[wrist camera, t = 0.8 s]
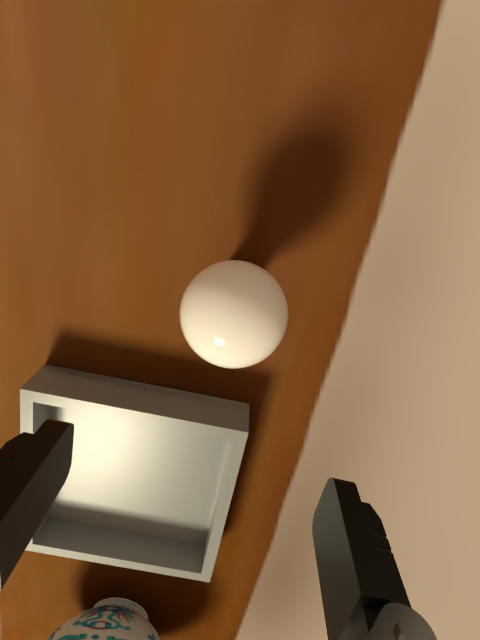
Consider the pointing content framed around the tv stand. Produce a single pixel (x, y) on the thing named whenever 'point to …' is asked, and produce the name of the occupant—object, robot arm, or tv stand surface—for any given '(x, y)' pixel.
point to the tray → (138, 471)
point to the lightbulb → (233, 314)
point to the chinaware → (109, 623)
